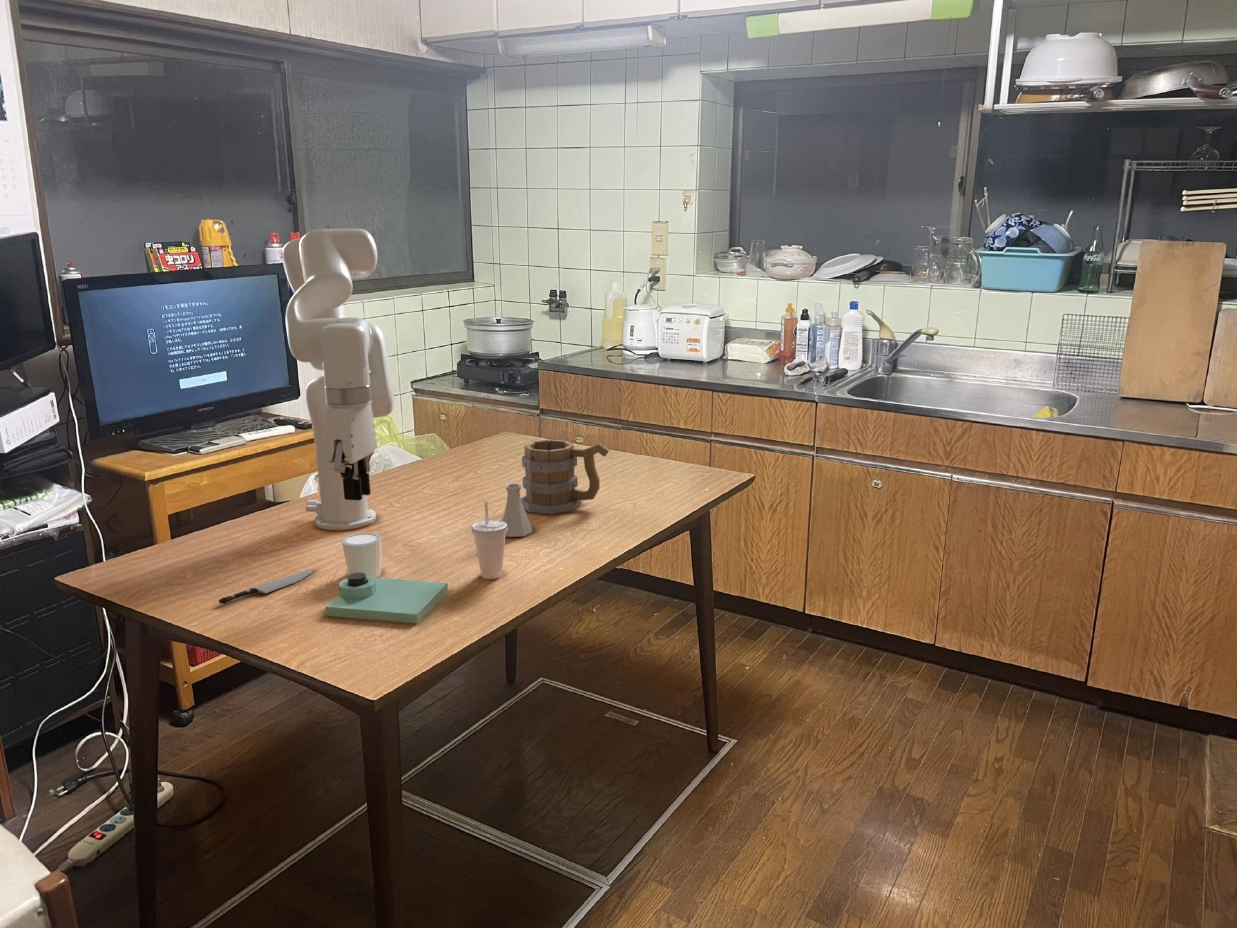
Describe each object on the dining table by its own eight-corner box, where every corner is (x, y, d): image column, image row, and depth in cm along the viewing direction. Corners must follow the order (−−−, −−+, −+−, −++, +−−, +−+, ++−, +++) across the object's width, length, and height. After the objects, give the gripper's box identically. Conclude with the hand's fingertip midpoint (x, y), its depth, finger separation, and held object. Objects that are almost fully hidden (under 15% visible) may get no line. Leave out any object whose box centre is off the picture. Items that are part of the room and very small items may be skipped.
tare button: (345, 587, 154) (344, 578, 153) (353, 580, 156) (352, 571, 156) (361, 588, 153) (360, 579, 152) (369, 581, 156) (369, 572, 155)
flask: (527, 539, 184) (525, 491, 181) (492, 536, 185) (490, 490, 183) (537, 527, 191) (535, 481, 188) (504, 525, 192) (502, 479, 190)
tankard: (513, 511, 201) (510, 445, 197) (536, 494, 213) (534, 432, 209) (598, 520, 195) (597, 452, 191) (617, 502, 207) (616, 438, 203)
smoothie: (492, 566, 170) (489, 494, 166) (516, 574, 166) (513, 501, 163) (466, 576, 165) (462, 503, 162) (490, 585, 162) (487, 510, 158)
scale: (323, 615, 150) (321, 596, 149) (361, 585, 162) (359, 566, 161) (417, 623, 147) (415, 603, 146) (448, 591, 159) (446, 573, 158)
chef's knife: (323, 574, 167) (313, 569, 169) (323, 568, 167) (313, 564, 169) (227, 609, 153) (217, 604, 154) (226, 603, 152) (216, 598, 154)
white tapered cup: (345, 584, 163) (341, 547, 161) (345, 570, 169) (342, 534, 167) (384, 579, 164) (381, 543, 163) (383, 566, 171) (380, 530, 169)
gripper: (351, 386, 166) (359, 483, 171) (304, 404, 151) (315, 509, 156) (389, 387, 165) (396, 485, 170) (346, 406, 149) (355, 512, 154)
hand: (357, 496), depth 163 cm, fingers closed
